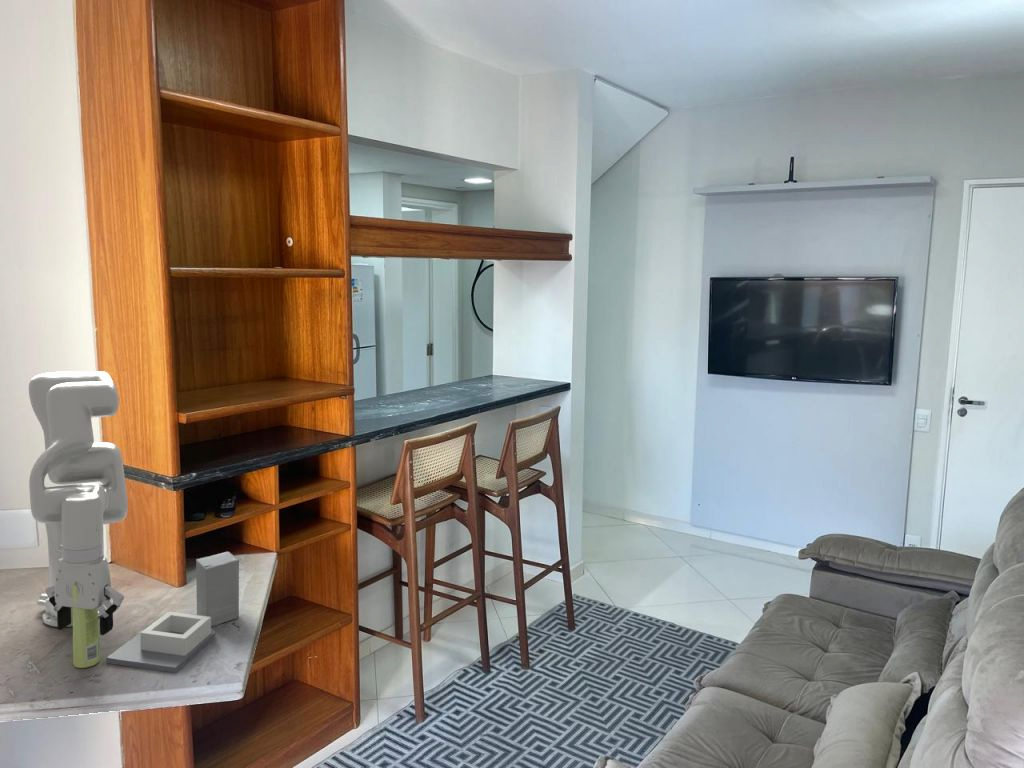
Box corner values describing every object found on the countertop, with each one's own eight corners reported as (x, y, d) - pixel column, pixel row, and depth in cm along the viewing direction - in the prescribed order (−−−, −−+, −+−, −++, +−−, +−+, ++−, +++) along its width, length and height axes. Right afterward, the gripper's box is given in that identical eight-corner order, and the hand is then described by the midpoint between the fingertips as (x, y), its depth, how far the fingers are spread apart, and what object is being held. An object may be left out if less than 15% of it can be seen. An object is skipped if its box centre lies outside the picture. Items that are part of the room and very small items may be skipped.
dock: (106, 662, 159) (105, 640, 158) (152, 628, 175) (151, 607, 174) (175, 672, 157) (175, 649, 156) (215, 636, 173) (215, 615, 172)
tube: (70, 659, 159) (68, 573, 156) (97, 653, 162) (95, 568, 160) (75, 671, 155) (73, 583, 152) (102, 664, 158) (100, 578, 155)
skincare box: (228, 609, 186) (228, 549, 184) (240, 620, 181) (241, 558, 179) (194, 618, 180) (194, 557, 178) (206, 630, 175) (206, 566, 173)
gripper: (32, 554, 152) (34, 632, 154) (109, 563, 150) (111, 642, 152) (58, 542, 159) (61, 617, 162) (133, 550, 157) (134, 626, 160)
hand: (85, 629), depth 157 cm, fingers open, 9 cm apart
